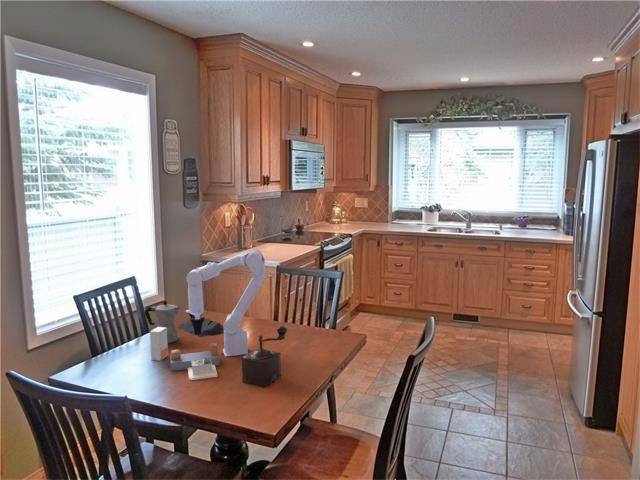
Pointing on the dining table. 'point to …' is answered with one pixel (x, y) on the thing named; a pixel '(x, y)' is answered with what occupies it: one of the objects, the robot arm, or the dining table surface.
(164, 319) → the coffeepot
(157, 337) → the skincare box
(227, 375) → the dining table surface
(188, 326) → the dark slate chunk
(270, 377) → the manual coffee grinder
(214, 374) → the tile
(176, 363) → the plane body
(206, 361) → the lever cap
